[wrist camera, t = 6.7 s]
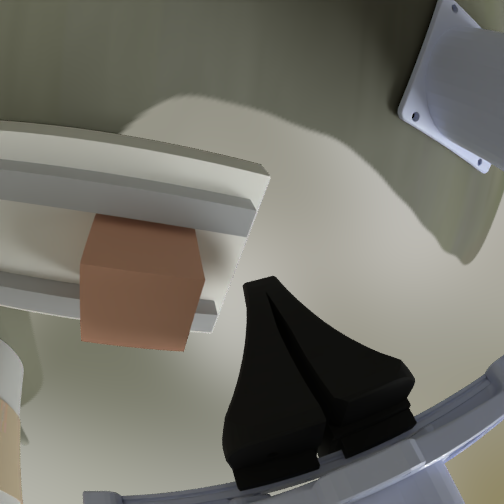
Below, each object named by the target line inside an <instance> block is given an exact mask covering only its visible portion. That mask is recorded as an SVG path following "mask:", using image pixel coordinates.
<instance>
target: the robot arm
mask: <svg viewBox="0 0 504 504" xmlns="http://www.w3.org/2000/svg"><path fill="white" fill-rule="evenodd" d="M452 8H453V11H452ZM413 113H414V114H415V115H414V118H413V119H412V115H413ZM398 116H399V118H400V119H401V120H403V121H405V122H406V123H408V124H410V125H411V126H413V127H415V128H416V129H418V130H420V131H421V132H423V133H425V134H426V135H428V136H429V137H431V138H432V139H434V140H436V141H437V142H439V143H440V144H442V145H443V146H445V147H446V148H448V149H449V150H451V151H452V152H454V153H455V154H456V155H458V156H459V157H461V158H462V159H464V160H465V161H466V162H468V163H469V164H470V165H472V166H473V167H475V168H476V169H477V170H479V171H480V172H482V173H484V174H485V173H487V172H488V170H489V168H490V166H491V164H492V165H494V166H496V167H497V168H499V169H501V170H502V171H504V33H503V32H497V31H492V30H486V29H482V28H481V27H480V26H479V25H478V24H477V23H476V22H475V21H474V20H473V19H472V18H471V17H470V15H469V14H468V13H467V12H466V11H465V10H464V9H463V8H462V7H461V6H460V5H459V4H457V3H456V2H455V1H454V0H438V1H437V4H436V8H435V11H434V14H433V17H432V20H431V22H430V25H429V28H428V31H427V34H426V37H425V40H424V42H423V45H422V48H421V51H420V53H419V56H418V59H417V61H416V64H415V67H414V69H413V72H412V75H411V77H410V80H409V82H408V85H407V87H406V90H405V92H404V95H403V97H402V100H401V102H400V105H399V107H398ZM243 290H244V296H245V302H246V307H247V326H246V339H245V347H244V354H243V360H242V364H241V369H240V373H239V377H238V381H237V384H236V387H235V391H234V394H233V397H232V400H231V403H230V405H229V408H228V411H227V413H226V416H225V422H224V429H223V437H222V445H223V451H224V455H225V458H226V461H227V462H228V464H229V465H230V467H231V468H232V470H233V473H234V477H235V482H230V483H226V484H221V485H215V486H210V487H204V488H198V489H191V490H184V491H176V492H168V493H160V494H147V495H133V496H121V495H119V494H118V493H115V492H110V491H84V492H83V504H465V502H464V501H463V499H462V497H461V495H460V493H459V491H458V489H457V487H456V485H455V483H454V481H453V480H452V477H451V475H450V474H449V472H448V470H447V468H446V466H445V464H444V463H446V462H447V461H449V460H450V459H451V458H453V457H455V456H456V455H457V454H459V453H461V451H463V450H465V449H466V448H468V447H469V446H470V445H472V444H473V443H474V442H476V441H477V440H478V439H480V438H481V437H482V436H484V435H485V434H486V433H488V432H489V431H490V430H491V429H493V428H494V427H495V426H496V425H498V424H499V423H500V422H501V421H502V420H504V355H503V356H502V357H500V358H499V359H497V360H496V361H495V362H494V363H492V364H491V365H490V367H489V368H488V369H487V371H486V372H485V374H484V375H482V376H481V377H480V378H478V379H477V380H475V381H474V382H472V383H471V384H469V385H468V386H466V387H464V388H463V389H461V390H460V391H458V392H456V393H455V394H453V395H452V396H450V397H448V398H447V399H445V400H443V401H441V402H440V403H438V404H436V405H435V406H433V407H431V408H429V409H427V410H426V411H424V412H422V413H420V414H419V415H416V416H413V414H412V413H411V411H410V409H409V407H410V406H411V405H410V403H409V401H408V399H407V397H408V395H409V393H410V392H411V390H412V388H413V386H414V383H415V378H414V377H413V375H412V373H411V372H410V370H409V369H408V368H407V367H406V365H405V364H404V363H403V362H402V361H401V360H400V359H397V358H394V357H391V356H388V355H385V354H382V353H380V352H377V351H375V350H373V349H370V348H368V347H366V346H364V345H362V344H360V343H358V342H356V341H354V340H352V339H350V338H349V337H347V336H345V335H343V334H342V333H340V332H339V331H337V330H336V329H334V328H332V327H331V326H330V325H328V324H327V323H325V322H324V321H323V320H321V319H320V318H319V317H317V316H316V315H315V314H314V313H312V312H311V311H310V310H309V309H308V308H306V307H305V306H304V305H303V304H302V303H301V302H300V301H298V300H297V299H296V298H295V297H294V296H293V295H292V294H291V293H290V292H289V291H288V290H287V289H286V288H285V287H284V286H283V285H282V284H281V282H280V281H279V280H278V279H277V278H276V277H275V276H271V277H267V278H263V279H259V280H255V281H251V282H247V283H245V284H244V285H243ZM317 453H318V456H319V458H317ZM316 478H319V479H318V480H316V481H313V482H310V483H308V484H305V485H303V486H300V487H298V488H294V489H292V490H289V491H286V492H283V493H280V494H277V495H274V496H270V494H267V493H270V492H274V491H278V490H281V489H285V488H288V487H292V486H295V485H298V484H301V483H304V482H307V481H311V480H314V479H316Z"/></svg>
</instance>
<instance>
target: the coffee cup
mask: <svg viewBox="0 0 504 504" xmlns="http://www.w3.org/2000/svg"><path fill="white" fill-rule="evenodd" d="M23 373H24V369H23V365H22V362H21V360H20V358H19V357H18V355H17V354H16V353H15V352H14V351H13V349H12V348H11V347H10V346H8V345H7V344H6V343H5V342H4V341H2V340H1V339H0V504H23V500H22V488H21V469H20V424H21V423H20V419H19V415H20V402H21V391H22V381H23Z"/></svg>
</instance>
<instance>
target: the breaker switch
mask: <svg viewBox="0 0 504 504" xmlns="http://www.w3.org/2000/svg"><path fill="white" fill-rule="evenodd" d="M204 283H205V276H204V272H203V267H202V262H201V257H200V252H199V247H198V242H197V237H196V232H195V229H193V228H187V227H181V226H174V225H168V224H162V223H155V222H149V221H143V220H136V219H130V218H123V217H117V216H110V215H104V214H97V213H96V215H95V218H94V221H93V223H92V226H91V229H90V232H89V236H88V239H87V242H86V245H85V248H84V252H83V255H82V258H81V262H80V326H81V341H84V342H92V343H99V344H107V345H116V346H125V347H135V348H144V349H156V350H169V351H184V349H185V345H186V342H187V339H188V335H189V332H190V329H191V325H192V322H193V319H194V315H195V312H196V309H197V306H198V302H199V299H200V296H201V293H202V290H203V286H204Z"/></svg>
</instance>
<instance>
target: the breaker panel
mask: <svg viewBox="0 0 504 504" xmlns="http://www.w3.org/2000/svg"><path fill="white" fill-rule="evenodd" d="M270 178H271V176H270V175H269V174H268V172H267V171H266V170H265V169H264V167H263V166H262V165H261V164H258V163H254V162H250V161H246V160H242V159H238V158H234V157H229V156H225V155H221V154H217V153H212V152H208V151H203V150H199V149H194V148H190V147H185V146H180V145H175V144H170V143H165V142H160V141H155V140H149V139H143V138H138V137H132V136H126V135H120V134H114V133H108V132H101V131H94V130H87V129H80V128H72V127H64V126H56V125H47V124H37V123H27V122H15V121H1V120H0V306H5V307H10V308H15V309H20V310H25V311H30V312H36V313H43V314H48V315H53V316H60V317H66V318H73V319H80V262H81V258H82V255H83V252H84V248H85V245H86V242H87V239H88V236H89V232H90V229H91V226H92V223H93V221H94V218H95V215H96V213H97V214H104V215H110V216H117V217H123V218H130V219H136V220H143V221H149V222H155V223H162V224H168V225H174V226H181V227H187V228H193V229H195V232H196V237H197V242H198V247H199V252H200V257H201V262H202V267H203V272H204V276H205V283H204V286H203V290H202V293H201V296H200V299H199V302H198V306H197V309H196V312H195V315H194V319H193V322H192V325H191V329H190V332H201V333H212V332H213V329H214V327H215V324H216V321H217V319H218V316H219V313H220V310H221V308H222V305H223V302H224V300H225V297H226V294H227V291H228V289H229V286H230V284H231V281H232V278H233V276H234V273H235V270H236V268H237V265H238V262H239V260H240V257H241V254H242V252H243V249H244V246H245V244H246V241H247V239H248V236H249V233H250V231H251V228H252V225H253V223H254V220H255V217H256V215H257V212H258V210H259V207H260V204H261V201H262V199H263V197H264V194H265V191H266V189H267V186H268V183H269V181H270Z"/></svg>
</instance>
